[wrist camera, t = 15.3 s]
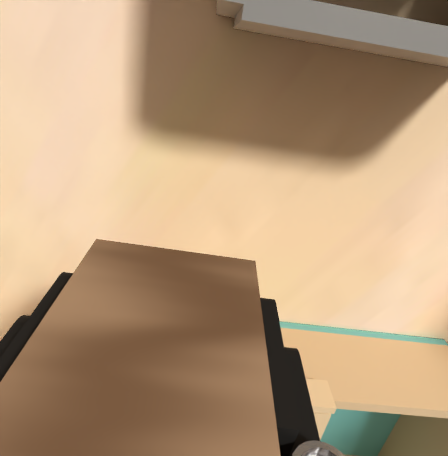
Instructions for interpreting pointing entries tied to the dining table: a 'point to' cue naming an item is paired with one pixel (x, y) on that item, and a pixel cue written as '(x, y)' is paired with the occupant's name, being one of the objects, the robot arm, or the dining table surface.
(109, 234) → the dining table surface
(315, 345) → the base
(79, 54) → the dining table surface
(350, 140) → the dining table surface
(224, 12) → the coaster tray
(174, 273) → the walnut block
